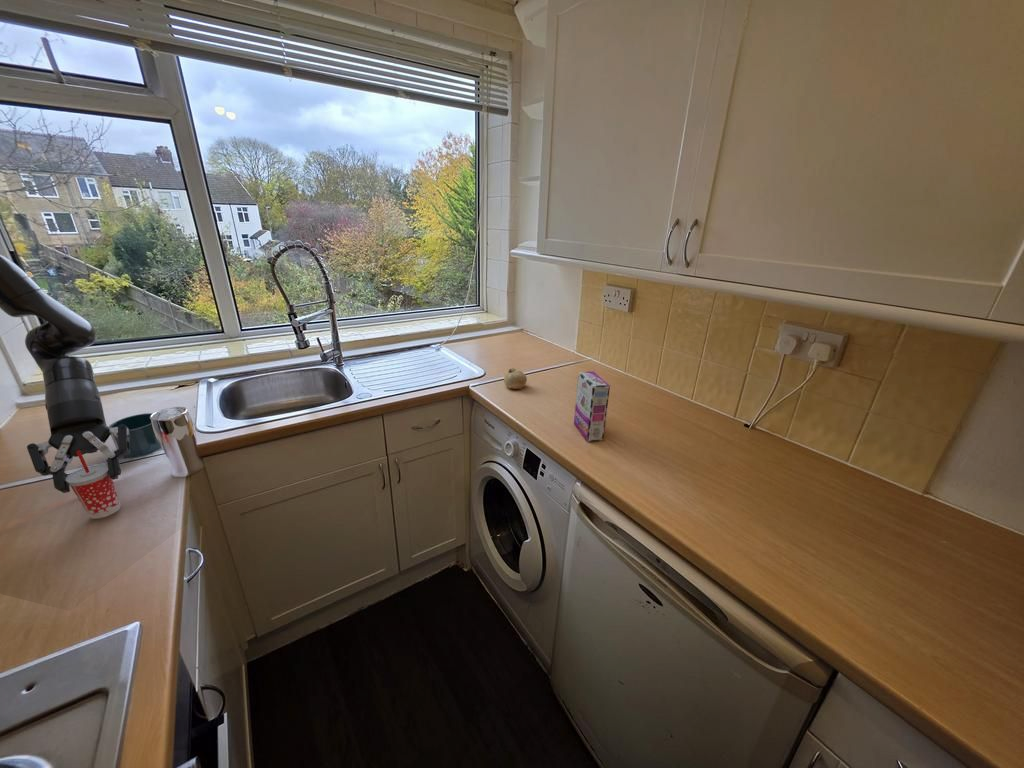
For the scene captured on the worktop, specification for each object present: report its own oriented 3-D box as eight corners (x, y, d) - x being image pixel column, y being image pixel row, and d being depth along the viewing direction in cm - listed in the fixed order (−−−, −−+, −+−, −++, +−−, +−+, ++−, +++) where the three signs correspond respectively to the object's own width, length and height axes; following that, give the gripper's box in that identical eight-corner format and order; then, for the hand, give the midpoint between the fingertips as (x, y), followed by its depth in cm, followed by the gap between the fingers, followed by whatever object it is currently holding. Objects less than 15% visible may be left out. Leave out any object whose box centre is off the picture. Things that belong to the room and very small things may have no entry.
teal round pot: (133, 466, 96) (120, 435, 93) (112, 456, 100) (99, 426, 97) (178, 447, 104) (168, 418, 101) (157, 438, 108) (147, 410, 105)
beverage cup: (133, 503, 83) (109, 444, 78) (100, 523, 77) (71, 461, 72) (110, 498, 84) (84, 440, 79) (75, 518, 79) (44, 457, 73)
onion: (518, 381, 149) (519, 363, 146) (530, 388, 142) (531, 370, 140) (499, 385, 145) (499, 367, 142) (511, 393, 139) (511, 374, 136)
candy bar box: (604, 441, 110) (611, 385, 104) (587, 442, 109) (592, 386, 103) (589, 422, 120) (594, 370, 114) (573, 423, 119) (577, 371, 113)
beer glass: (173, 482, 91) (151, 423, 85) (167, 470, 95) (145, 413, 89) (210, 469, 96) (191, 412, 90) (202, 458, 100) (184, 403, 94)
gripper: (128, 404, 88) (144, 476, 84) (31, 423, 80) (44, 504, 75) (117, 390, 82) (134, 466, 78) (11, 408, 74) (24, 495, 70)
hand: (90, 484), depth 77 cm, fingers closed on beverage cup, 6 cm apart
